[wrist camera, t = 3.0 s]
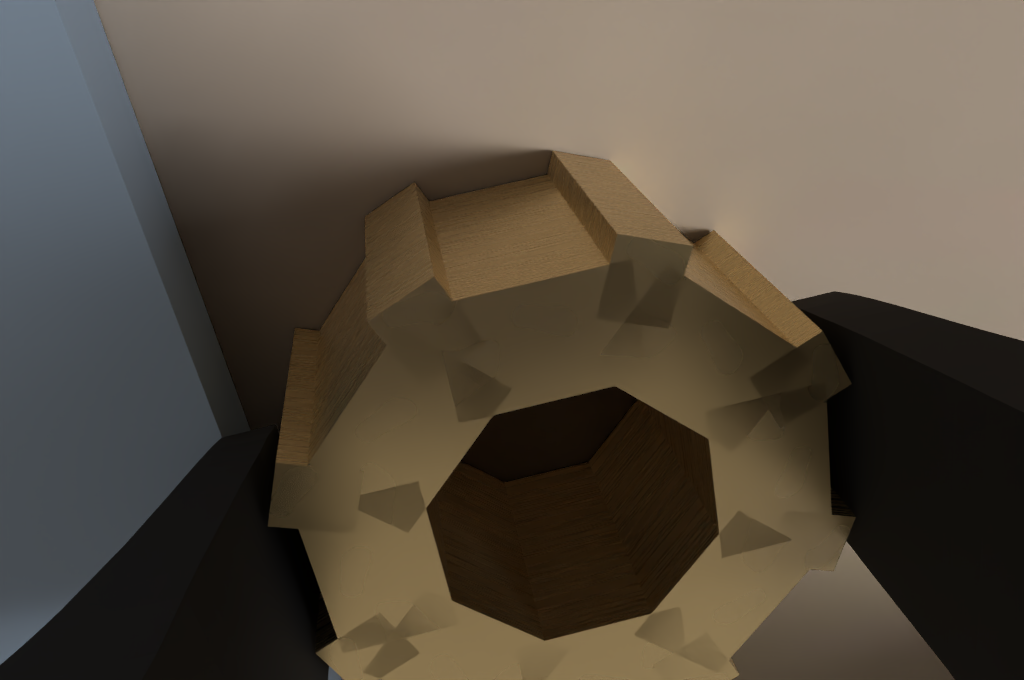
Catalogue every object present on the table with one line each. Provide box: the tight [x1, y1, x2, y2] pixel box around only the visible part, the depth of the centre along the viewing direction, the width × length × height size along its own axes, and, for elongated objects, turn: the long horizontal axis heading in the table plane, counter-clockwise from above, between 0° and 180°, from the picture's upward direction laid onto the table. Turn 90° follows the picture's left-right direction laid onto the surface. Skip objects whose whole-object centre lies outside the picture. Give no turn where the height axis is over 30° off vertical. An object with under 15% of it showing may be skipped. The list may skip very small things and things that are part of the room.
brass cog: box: [268, 151, 856, 680], centre depth 11 cm, size 6×6×3 cm
